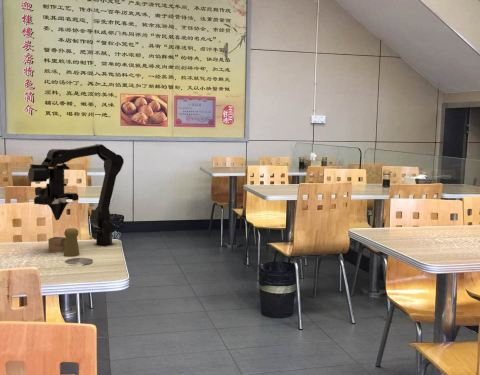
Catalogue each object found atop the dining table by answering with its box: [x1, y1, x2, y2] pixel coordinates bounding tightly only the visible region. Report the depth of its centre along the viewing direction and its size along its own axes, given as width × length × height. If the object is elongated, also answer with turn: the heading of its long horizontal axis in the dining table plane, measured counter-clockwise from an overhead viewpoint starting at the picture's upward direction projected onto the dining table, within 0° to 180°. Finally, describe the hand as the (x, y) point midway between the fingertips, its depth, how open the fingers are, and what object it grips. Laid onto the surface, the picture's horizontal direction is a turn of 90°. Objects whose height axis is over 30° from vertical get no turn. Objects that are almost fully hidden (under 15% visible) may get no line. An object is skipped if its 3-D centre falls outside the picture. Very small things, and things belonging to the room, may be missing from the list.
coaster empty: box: [64, 257, 94, 267], centre depth 197 cm, size 10×10×1 cm
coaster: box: [43, 248, 64, 255], centre depth 213 cm, size 10×10×1 cm
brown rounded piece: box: [63, 227, 80, 258], centre depth 206 cm, size 6×6×11 cm
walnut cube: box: [47, 236, 66, 252], centre depth 213 cm, size 5×5×5 cm
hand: (57, 219), depth 212 cm, fingers closed
